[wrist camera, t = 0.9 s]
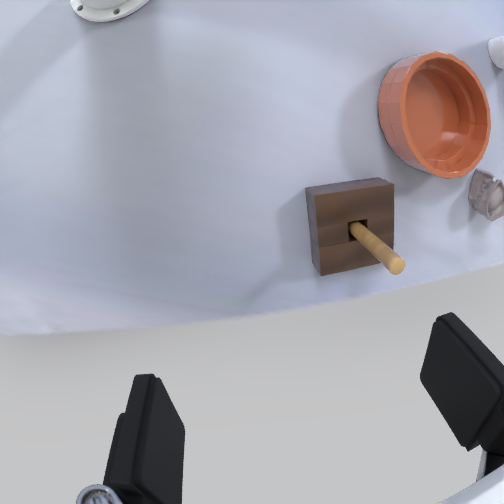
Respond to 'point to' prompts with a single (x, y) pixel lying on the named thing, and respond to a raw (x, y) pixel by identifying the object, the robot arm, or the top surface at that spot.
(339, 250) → the holder
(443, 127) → the mixing bowl
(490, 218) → the dental mold
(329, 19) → the top surface
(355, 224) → the light wooden dowel
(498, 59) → the dixie cup
